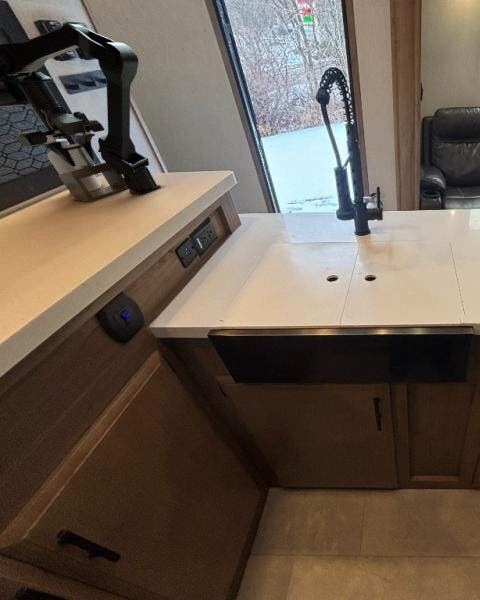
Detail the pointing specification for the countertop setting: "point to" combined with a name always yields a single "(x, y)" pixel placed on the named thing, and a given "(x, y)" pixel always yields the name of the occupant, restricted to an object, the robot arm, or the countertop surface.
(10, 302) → the countertop surface
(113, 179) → the frame
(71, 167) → the pill bottle
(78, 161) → the spice tin
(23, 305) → the countertop surface
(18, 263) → the countertop surface
